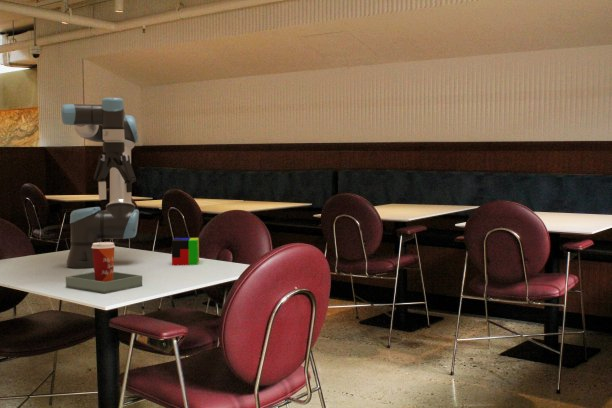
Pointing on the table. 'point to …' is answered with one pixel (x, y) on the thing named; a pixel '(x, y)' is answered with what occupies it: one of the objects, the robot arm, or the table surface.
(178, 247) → the puzzle toy
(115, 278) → the tray
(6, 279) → the table surface
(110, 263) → the paper cup
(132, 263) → the table surface
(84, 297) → the table surface
